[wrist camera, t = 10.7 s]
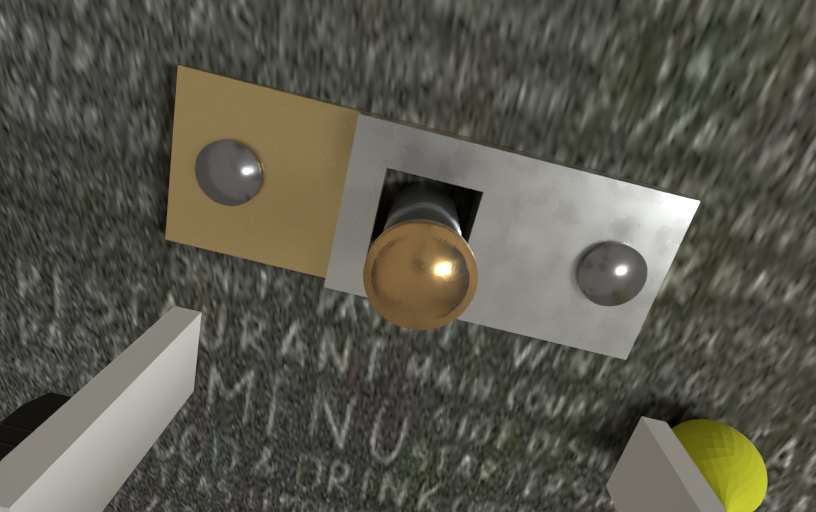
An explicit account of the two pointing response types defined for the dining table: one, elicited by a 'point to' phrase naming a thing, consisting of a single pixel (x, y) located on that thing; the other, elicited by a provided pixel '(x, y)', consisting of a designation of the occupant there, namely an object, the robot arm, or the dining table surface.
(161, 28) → the dining table surface
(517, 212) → the link
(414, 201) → the pin
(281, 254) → the link
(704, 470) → the lemon
